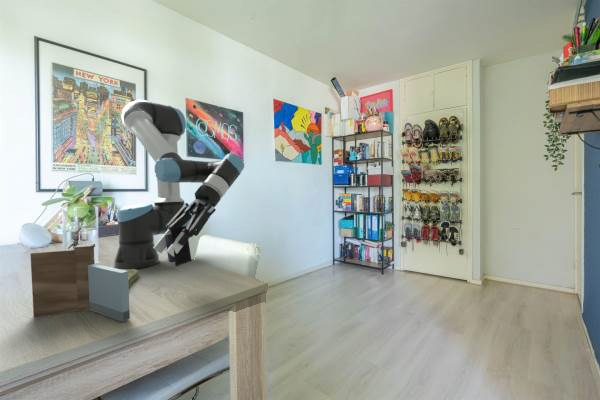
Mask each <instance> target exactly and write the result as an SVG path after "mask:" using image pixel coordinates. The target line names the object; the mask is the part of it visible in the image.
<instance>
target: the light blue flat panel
mask: <svg viewBox="0 0 600 400" xmlns="http://www.w3.org/2000/svg"><path fill="white" fill-rule="evenodd" d="M88 281H89V310H88V311H91V312H95V313H98V314H100V315H103V316H105V317H108V318H111V319H114V320H117V321H120V322H122V323H123V322H126V321H128V320H130V319H131V316H130V315H131V314H130V313H131V311H130V288H129V287H130V286H129V283H128V271H125V270H121V269H116V268H115V267H110V266H105V265H101V264H96V263H95V264H92V265H88Z"/></svg>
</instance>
